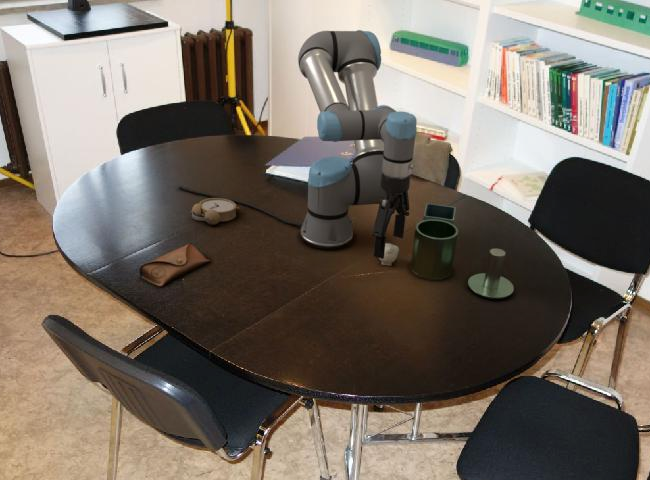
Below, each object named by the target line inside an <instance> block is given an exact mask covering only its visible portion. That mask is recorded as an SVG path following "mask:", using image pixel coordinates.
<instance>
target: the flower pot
mask: <svg viewBox="0 0 650 480" xmlns="http://www.w3.org/2000/svg"><path fill="white" fill-rule="evenodd" d="M456 210H457V208H456V207H455V206H449V205H443V204H437V203H436V204H435V203H429V202H428V203H426V204H425V207H424V213H423V220H429V219H436V220H443V221H446V222H449V223H451V224H453V225H454V223H455V222H454V221H455V216H456V212H457V211H456Z"/></svg>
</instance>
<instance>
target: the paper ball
mask: <svg viewBox="0 0 650 480" xmlns="http://www.w3.org/2000/svg"><path fill="white" fill-rule="evenodd" d="M399 252H400V248H399V246H398V245H395V244H392V243H390V242H385V252H384V258H383V259H381V258H378V260H379V261H380V262H381V266H392V264H393V263H394V262H395V261H396V260H397V259H398V256H399Z"/></svg>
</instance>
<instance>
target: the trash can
mask: <svg viewBox="0 0 650 480" xmlns="http://www.w3.org/2000/svg"><path fill="white" fill-rule="evenodd" d="M413 236H414V237H413V244H412V252H411V260H410V270H411V272H412V274H414V275H415V276H417V277H418V278H421V279H424V280H427V281H442V280H445V279H447V278H449V277H450V276H451V274H452V271H453V265H454V259H455V254H456V247H457V242H458V236H459V230H458V227H457V226H456V225H454V223H453V224H451V223H449V222H446V221H443V220H436V219H429V220H424V219H423V220H421V221H419V222H417V223H416V224H415V230H414V235H413Z"/></svg>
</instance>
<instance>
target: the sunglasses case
mask: <svg viewBox="0 0 650 480" xmlns="http://www.w3.org/2000/svg"><path fill="white" fill-rule="evenodd" d="M210 261H211V260H210V259H207V258H206V257H205V256H204V254H203V253H201V252H200V251H199V249H197V248H196V246H194V244H192V242H188V243H186V244H185V245H184V246H181V247H179V248H176V249H174V250H172V251H170V252H168V253H165V254H163V255H162V256H159V257H157V258H155V259H153V260H151V261H149V262H146V263H143V264H142V265H141V266H140V267H139V275H140V277H141V278H142V279H143V280H145V281H146V282H148V283H150V284H152V285H154V286H157V287H164V286H165V285H167V284H168V283H169V282H171V281H173V280H175V279H177V278H179V277H181V276H183V275H185V274H187V273H189V272H191V271H193V270H196V269H198V268H200V267H202V266H203V265H205V264H208V263H209V262H210Z"/></svg>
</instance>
